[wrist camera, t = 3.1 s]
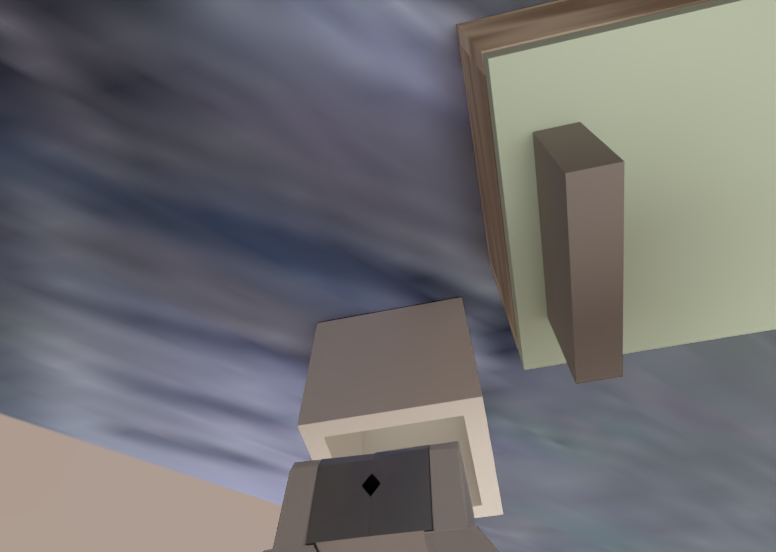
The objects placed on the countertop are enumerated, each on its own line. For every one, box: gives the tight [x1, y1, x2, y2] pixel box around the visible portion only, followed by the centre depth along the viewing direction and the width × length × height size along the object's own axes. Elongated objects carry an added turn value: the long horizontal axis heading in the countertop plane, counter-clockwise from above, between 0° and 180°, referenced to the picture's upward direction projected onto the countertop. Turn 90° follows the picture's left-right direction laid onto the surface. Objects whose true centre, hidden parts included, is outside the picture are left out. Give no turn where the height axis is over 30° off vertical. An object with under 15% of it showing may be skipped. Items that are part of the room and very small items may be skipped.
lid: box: [483, 0, 776, 384], centre depth 14 cm, size 10×10×4 cm
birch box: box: [456, 0, 711, 349], centre depth 18 cm, size 10×10×6 cm
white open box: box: [297, 297, 503, 518], centre depth 24 cm, size 7×7×6 cm
